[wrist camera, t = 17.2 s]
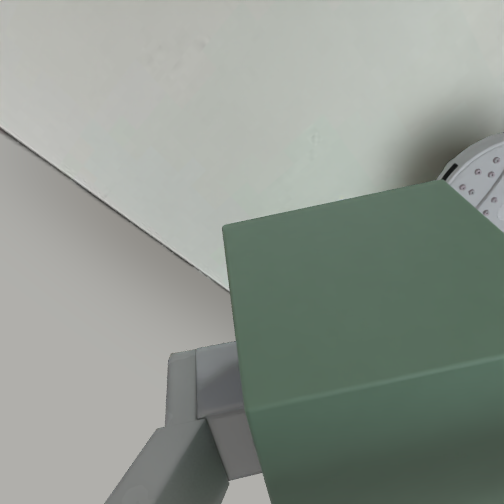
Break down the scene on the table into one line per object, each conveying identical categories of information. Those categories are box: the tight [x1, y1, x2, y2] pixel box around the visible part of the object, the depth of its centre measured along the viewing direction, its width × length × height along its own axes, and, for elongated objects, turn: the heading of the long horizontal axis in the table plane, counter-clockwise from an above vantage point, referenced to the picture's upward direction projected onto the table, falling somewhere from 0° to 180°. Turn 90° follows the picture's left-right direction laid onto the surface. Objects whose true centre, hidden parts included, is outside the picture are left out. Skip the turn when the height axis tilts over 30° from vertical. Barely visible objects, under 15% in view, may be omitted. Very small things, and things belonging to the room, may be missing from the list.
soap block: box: [222, 179, 504, 504], centre depth 9 cm, size 4×4×4 cm
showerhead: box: [436, 132, 504, 232], centre depth 32 cm, size 9×7×10 cm
